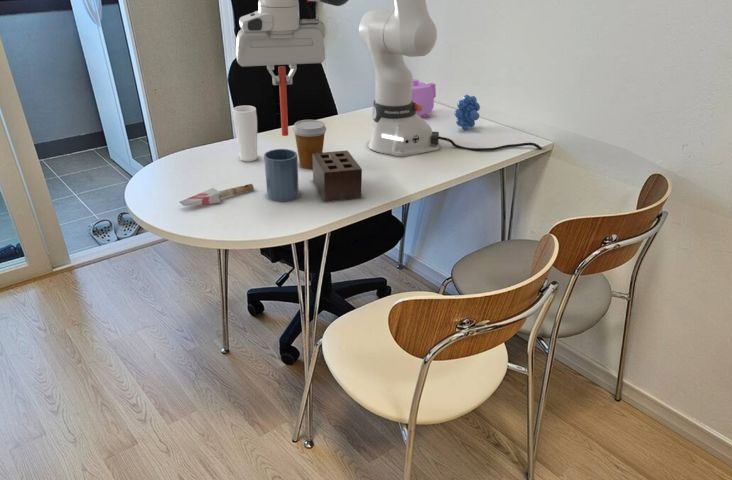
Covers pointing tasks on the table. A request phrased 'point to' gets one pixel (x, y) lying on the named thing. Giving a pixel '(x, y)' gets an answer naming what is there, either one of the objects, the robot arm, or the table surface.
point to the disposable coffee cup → (309, 140)
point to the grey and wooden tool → (215, 195)
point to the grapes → (467, 112)
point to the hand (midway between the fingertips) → (282, 84)
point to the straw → (283, 100)
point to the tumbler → (281, 174)
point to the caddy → (337, 175)
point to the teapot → (423, 96)
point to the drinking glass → (246, 131)
